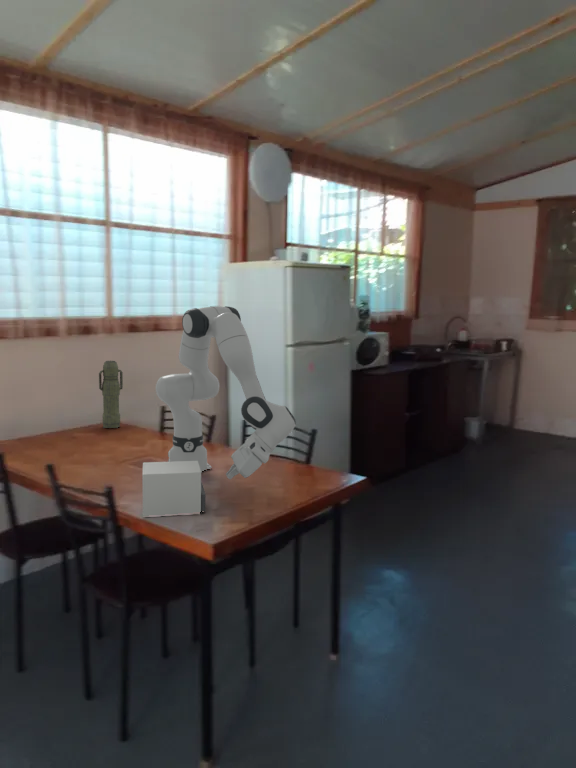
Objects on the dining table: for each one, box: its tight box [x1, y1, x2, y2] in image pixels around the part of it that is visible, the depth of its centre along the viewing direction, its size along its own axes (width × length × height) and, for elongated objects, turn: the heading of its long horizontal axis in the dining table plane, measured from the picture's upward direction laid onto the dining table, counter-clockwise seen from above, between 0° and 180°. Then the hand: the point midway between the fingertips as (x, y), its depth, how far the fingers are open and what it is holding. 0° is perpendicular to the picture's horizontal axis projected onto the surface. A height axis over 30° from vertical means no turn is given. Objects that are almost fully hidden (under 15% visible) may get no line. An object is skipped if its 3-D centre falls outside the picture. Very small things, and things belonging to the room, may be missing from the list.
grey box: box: [141, 461, 202, 517], centre depth 195 cm, size 14×18×14 cm
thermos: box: [98, 360, 124, 429], centre depth 314 cm, size 9×12×35 cm
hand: (227, 477), depth 199 cm, fingers closed
